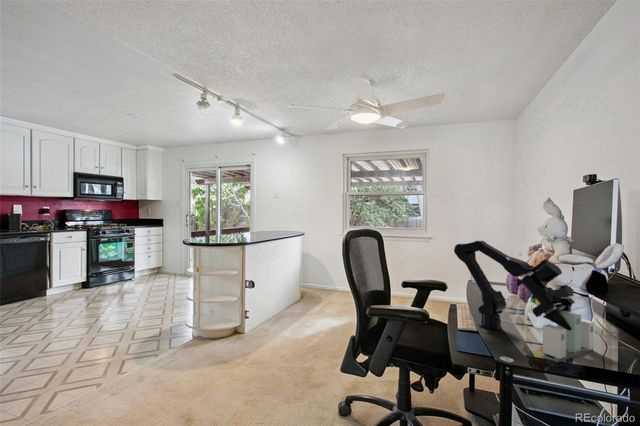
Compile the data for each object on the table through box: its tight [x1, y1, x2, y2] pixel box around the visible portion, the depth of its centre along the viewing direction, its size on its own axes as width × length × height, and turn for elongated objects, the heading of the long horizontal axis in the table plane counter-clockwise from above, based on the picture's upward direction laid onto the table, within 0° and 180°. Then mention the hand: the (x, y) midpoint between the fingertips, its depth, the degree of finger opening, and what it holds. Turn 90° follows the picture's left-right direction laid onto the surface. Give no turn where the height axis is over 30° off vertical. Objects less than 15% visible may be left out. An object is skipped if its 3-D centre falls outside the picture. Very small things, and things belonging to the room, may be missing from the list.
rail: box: [543, 347, 594, 363], centre depth 105 cm, size 4×23×1 cm, turn 115°
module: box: [557, 311, 582, 352], centre depth 105 cm, size 5×4×12 cm
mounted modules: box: [542, 318, 595, 359], centre depth 105 cm, size 5×22×9 cm, turn 116°
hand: (573, 328), depth 104 cm, fingers closed on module, 4 cm apart
